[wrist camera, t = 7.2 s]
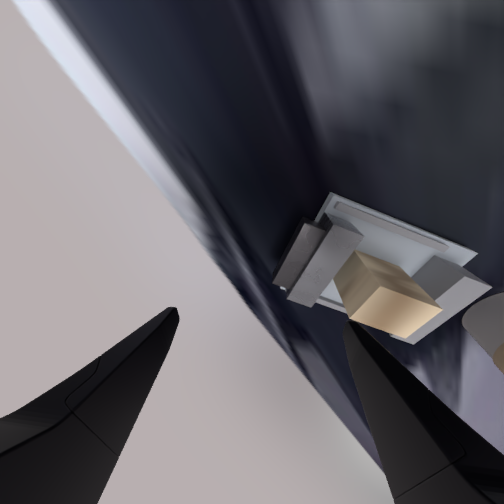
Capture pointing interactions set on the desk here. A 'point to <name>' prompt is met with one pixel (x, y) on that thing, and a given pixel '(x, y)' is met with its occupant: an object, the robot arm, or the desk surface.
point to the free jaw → (315, 257)
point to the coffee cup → (488, 326)
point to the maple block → (383, 295)
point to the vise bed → (409, 260)
